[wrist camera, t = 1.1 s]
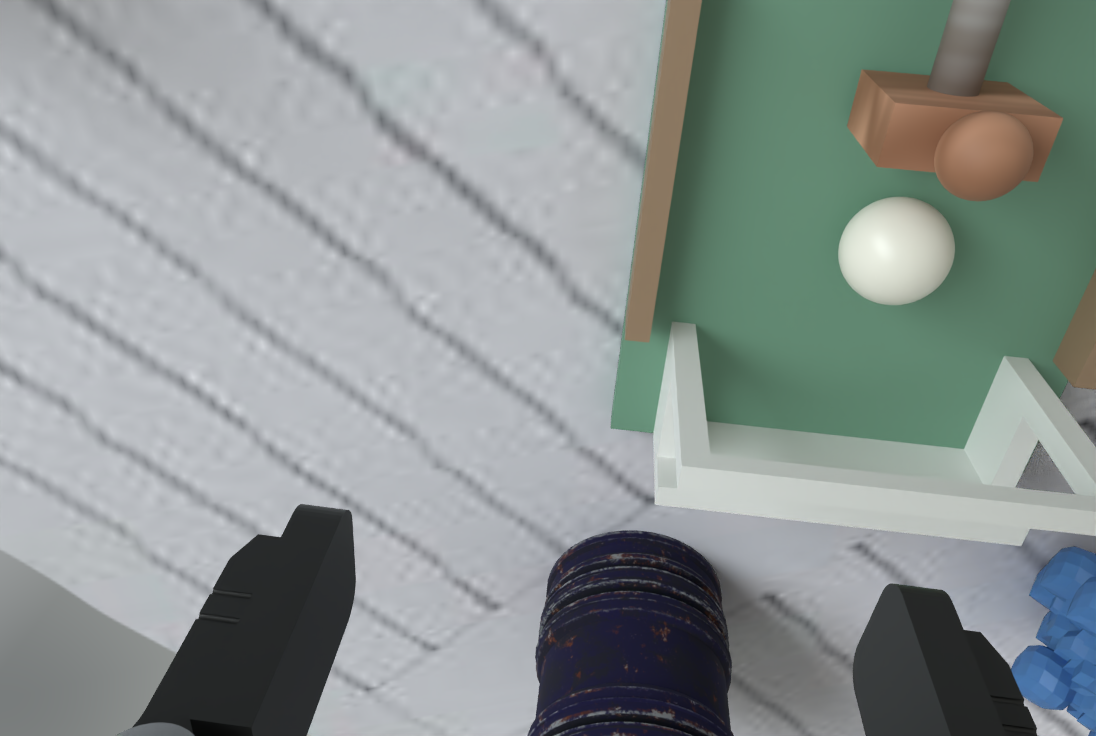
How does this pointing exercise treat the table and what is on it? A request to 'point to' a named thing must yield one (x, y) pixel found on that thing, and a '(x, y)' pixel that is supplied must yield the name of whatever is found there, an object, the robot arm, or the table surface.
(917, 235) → the ball
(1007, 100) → the kicker
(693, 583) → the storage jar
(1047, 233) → the pitch
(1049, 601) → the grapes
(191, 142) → the table surface
